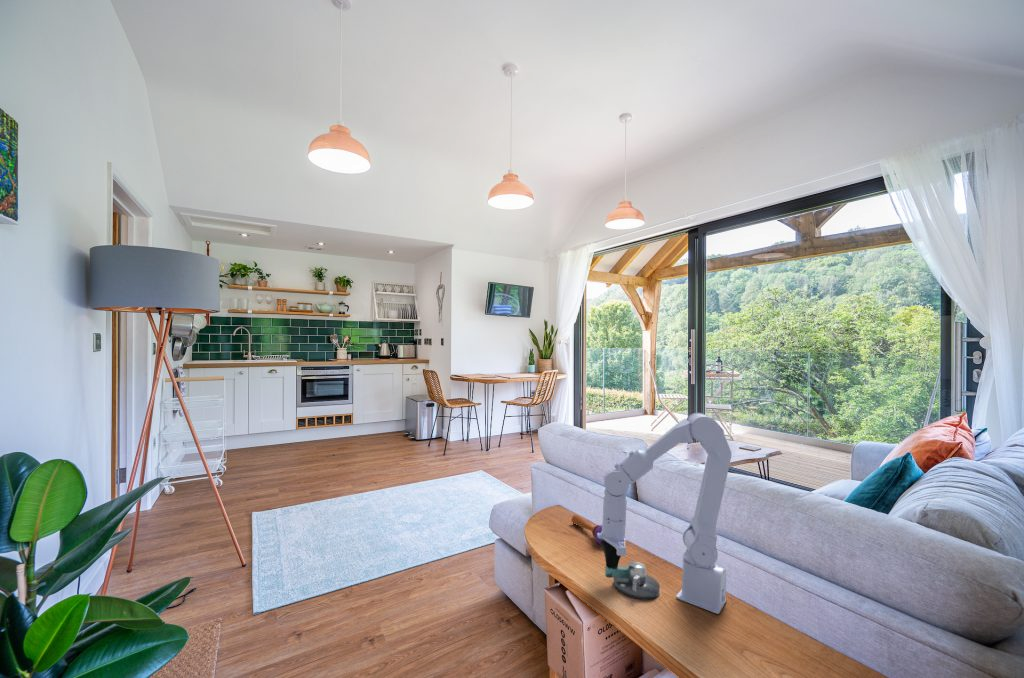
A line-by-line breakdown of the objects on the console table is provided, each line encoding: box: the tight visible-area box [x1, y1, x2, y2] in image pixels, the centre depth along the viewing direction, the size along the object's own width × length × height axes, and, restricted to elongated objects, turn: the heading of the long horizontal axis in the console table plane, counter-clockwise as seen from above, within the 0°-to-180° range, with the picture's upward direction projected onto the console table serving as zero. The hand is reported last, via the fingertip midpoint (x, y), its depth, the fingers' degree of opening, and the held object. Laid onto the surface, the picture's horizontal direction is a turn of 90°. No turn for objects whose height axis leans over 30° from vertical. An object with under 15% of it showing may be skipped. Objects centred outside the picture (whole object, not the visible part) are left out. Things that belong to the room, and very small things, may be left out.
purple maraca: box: [571, 514, 605, 546], centre depth 138 cm, size 6×6×20 cm
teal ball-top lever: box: [604, 560, 647, 585], centre depth 106 cm, size 10×4×4 cm, turn 92°
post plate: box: [613, 574, 661, 601], centre depth 106 cm, size 11×11×4 cm
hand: (611, 572), depth 108 cm, fingers closed, pressing on teal ball-top lever
